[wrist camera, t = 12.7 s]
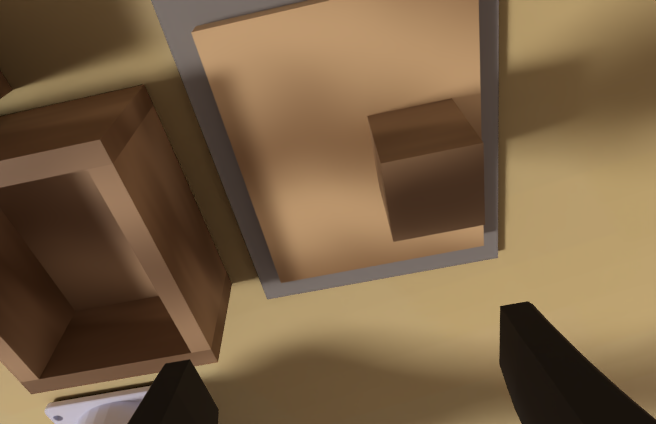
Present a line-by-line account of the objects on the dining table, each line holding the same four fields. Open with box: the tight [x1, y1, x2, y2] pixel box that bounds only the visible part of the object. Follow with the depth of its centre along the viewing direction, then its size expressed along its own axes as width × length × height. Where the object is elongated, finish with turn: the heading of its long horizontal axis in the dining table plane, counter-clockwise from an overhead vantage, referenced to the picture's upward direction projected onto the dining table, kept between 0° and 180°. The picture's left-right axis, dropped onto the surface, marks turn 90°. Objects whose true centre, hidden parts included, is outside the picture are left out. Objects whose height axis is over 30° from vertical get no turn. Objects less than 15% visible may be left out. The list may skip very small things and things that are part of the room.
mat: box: [151, 0, 499, 299], centre depth 18 cm, size 14×11×1 cm
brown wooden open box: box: [0, 70, 232, 394], centre depth 17 cm, size 14×8×5 cm, turn 11°
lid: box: [191, 0, 485, 283], centre depth 16 cm, size 11×9×4 cm
